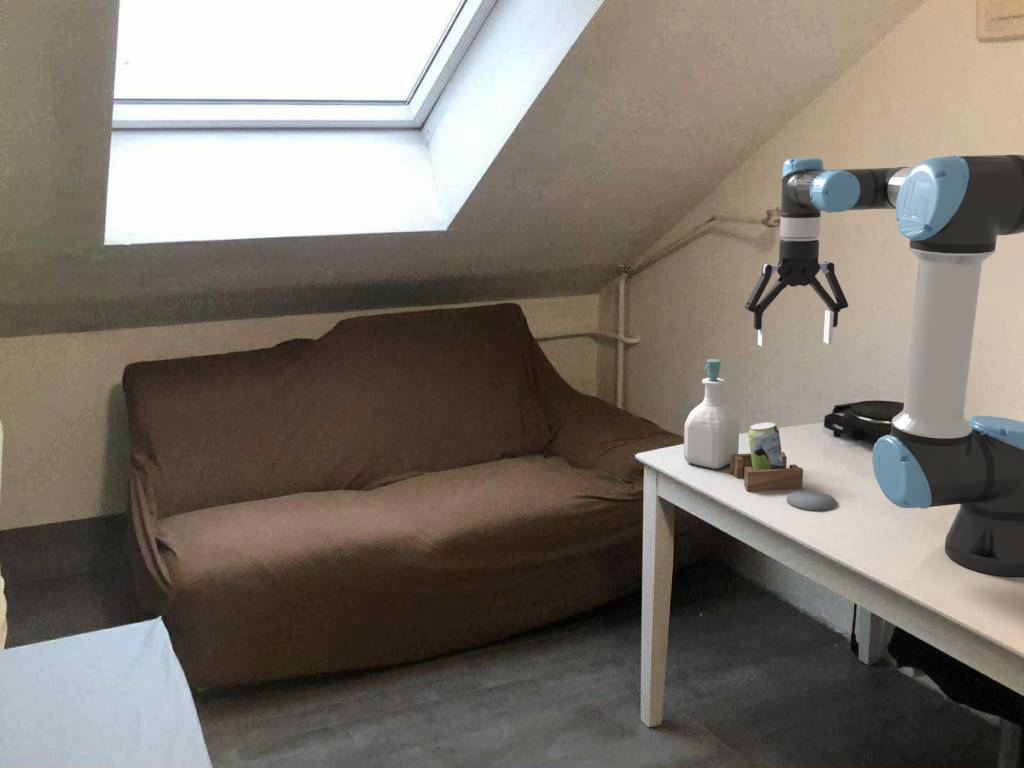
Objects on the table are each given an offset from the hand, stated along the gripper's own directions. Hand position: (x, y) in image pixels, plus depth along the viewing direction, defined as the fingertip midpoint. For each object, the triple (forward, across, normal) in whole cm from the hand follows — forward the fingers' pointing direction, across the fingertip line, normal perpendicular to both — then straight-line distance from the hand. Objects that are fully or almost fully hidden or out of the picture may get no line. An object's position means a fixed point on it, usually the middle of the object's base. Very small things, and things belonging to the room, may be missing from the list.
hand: (794, 344), depth 194 cm
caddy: (+27, +6, +5) cm, 28 cm away
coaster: (+27, +2, +18) cm, 32 cm away
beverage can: (+27, +6, +5) cm, 28 cm away
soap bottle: (+27, +14, -8) cm, 32 cm away
